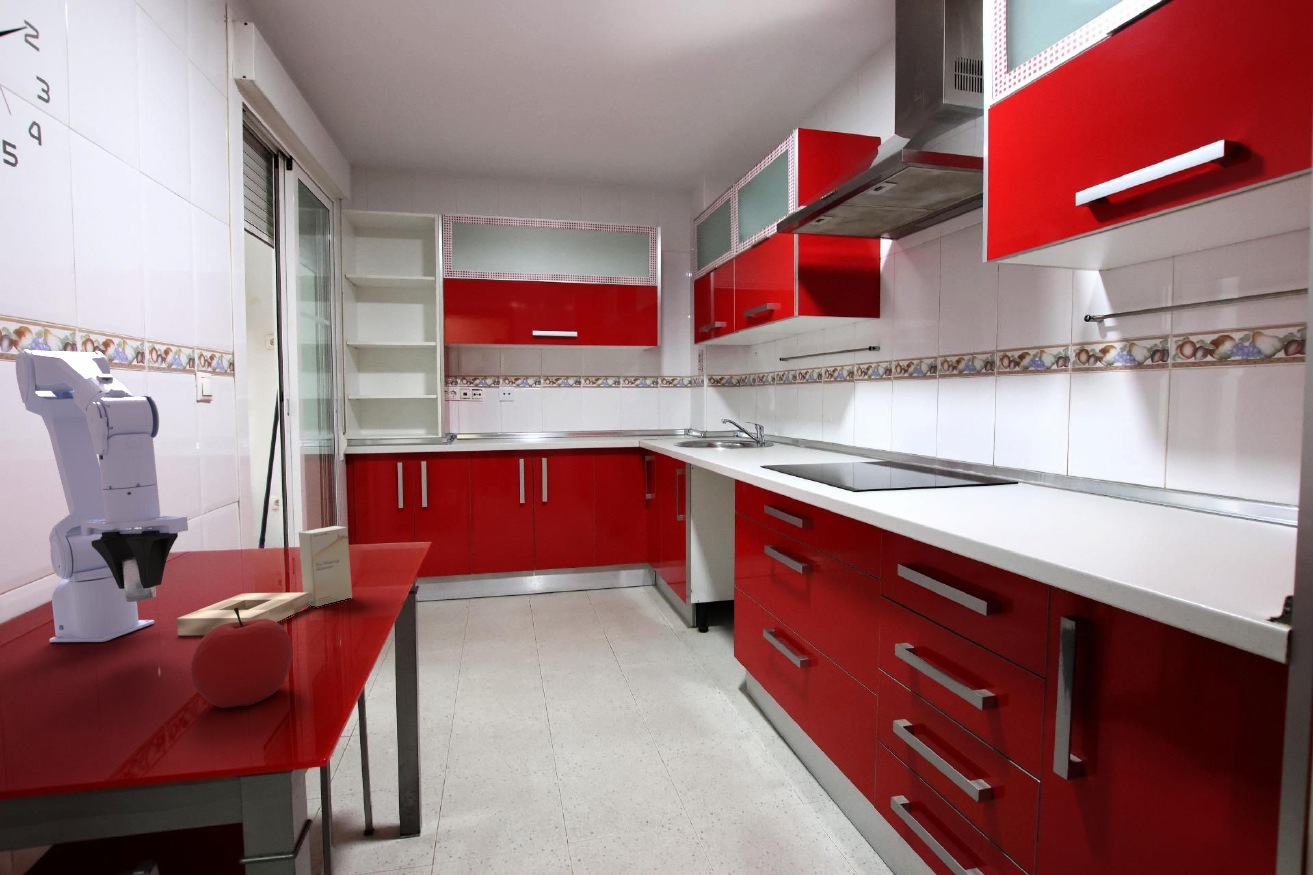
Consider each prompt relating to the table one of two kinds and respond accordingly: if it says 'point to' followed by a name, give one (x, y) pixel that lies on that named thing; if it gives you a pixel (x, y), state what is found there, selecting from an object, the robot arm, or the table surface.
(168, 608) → the table surface
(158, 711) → the table surface
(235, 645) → the apple
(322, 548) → the skincare box
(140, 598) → the grey block
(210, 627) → the wooden square frame
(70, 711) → the table surface
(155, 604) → the table surface
